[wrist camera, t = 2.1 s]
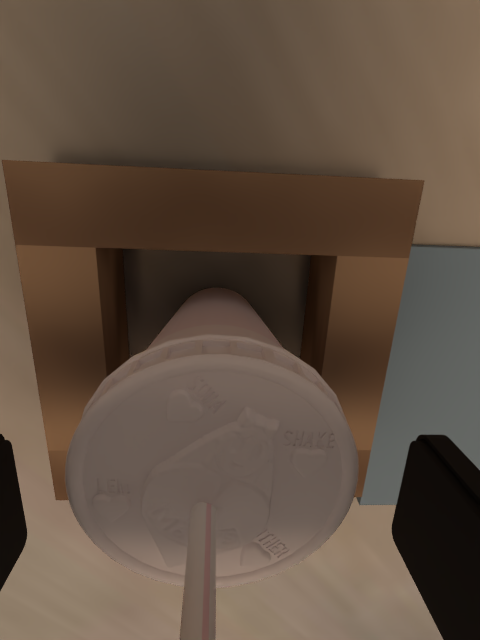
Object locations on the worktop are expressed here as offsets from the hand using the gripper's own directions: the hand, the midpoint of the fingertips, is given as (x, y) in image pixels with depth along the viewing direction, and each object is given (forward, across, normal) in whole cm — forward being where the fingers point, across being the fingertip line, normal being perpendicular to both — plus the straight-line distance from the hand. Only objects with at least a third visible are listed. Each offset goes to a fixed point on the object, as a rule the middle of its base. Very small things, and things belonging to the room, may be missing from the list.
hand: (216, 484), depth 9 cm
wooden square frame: (+9, 0, -1) cm, 9 cm away
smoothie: (+9, 0, -1) cm, 9 cm away
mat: (+9, -13, +2) cm, 16 cm away
